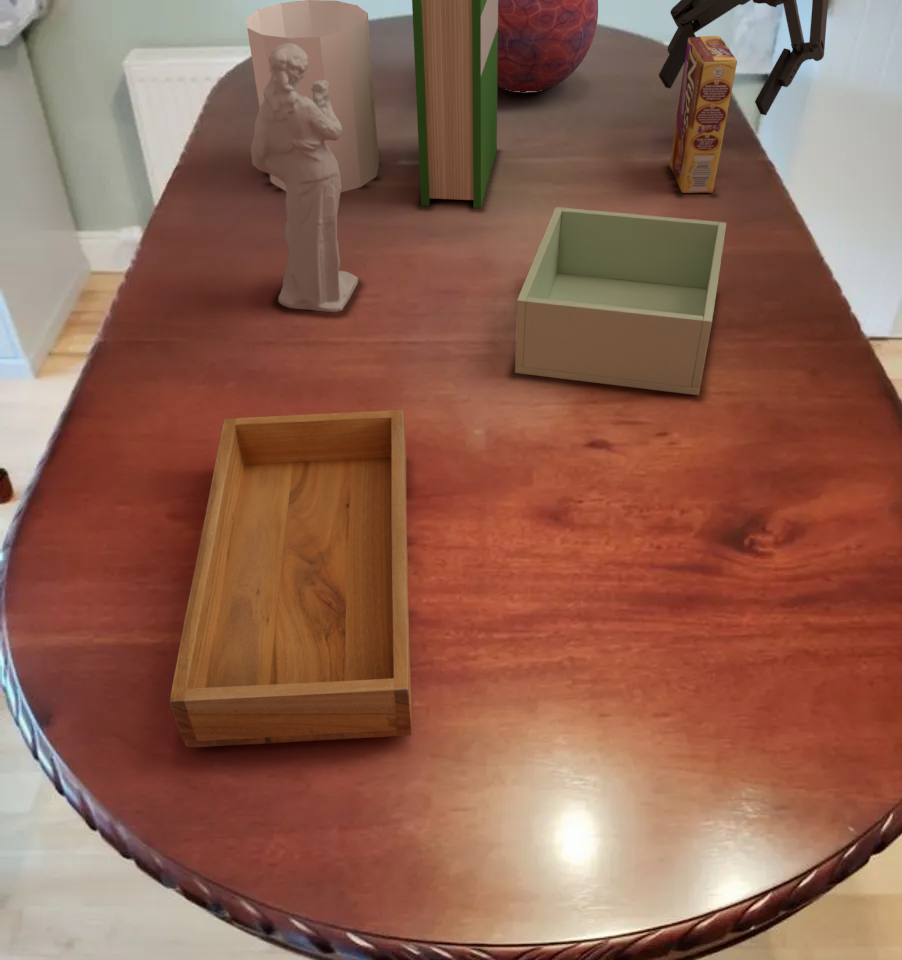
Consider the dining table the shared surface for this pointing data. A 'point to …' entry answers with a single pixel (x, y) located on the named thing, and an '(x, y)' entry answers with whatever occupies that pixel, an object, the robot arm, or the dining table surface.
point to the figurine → (304, 181)
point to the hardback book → (456, 96)
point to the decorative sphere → (542, 41)
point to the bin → (620, 300)
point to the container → (326, 73)
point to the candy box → (702, 113)
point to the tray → (300, 586)
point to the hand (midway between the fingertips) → (710, 95)
